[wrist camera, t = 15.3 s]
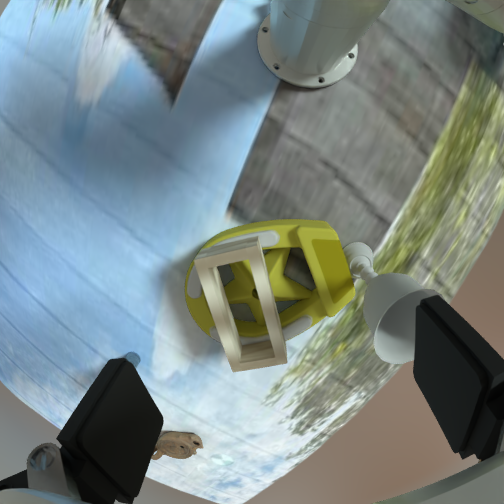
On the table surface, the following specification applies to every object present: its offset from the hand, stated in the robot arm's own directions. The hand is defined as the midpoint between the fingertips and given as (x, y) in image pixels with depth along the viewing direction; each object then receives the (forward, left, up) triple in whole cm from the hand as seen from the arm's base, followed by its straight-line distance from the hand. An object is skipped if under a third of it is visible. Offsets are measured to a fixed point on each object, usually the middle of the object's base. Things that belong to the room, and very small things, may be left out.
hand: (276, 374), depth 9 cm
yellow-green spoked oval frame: (+9, -3, -31) cm, 32 cm away
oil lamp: (+40, -28, -31) cm, 57 cm away
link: (+9, -5, -26) cm, 28 cm away
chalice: (+9, +10, -31) cm, 33 cm away
